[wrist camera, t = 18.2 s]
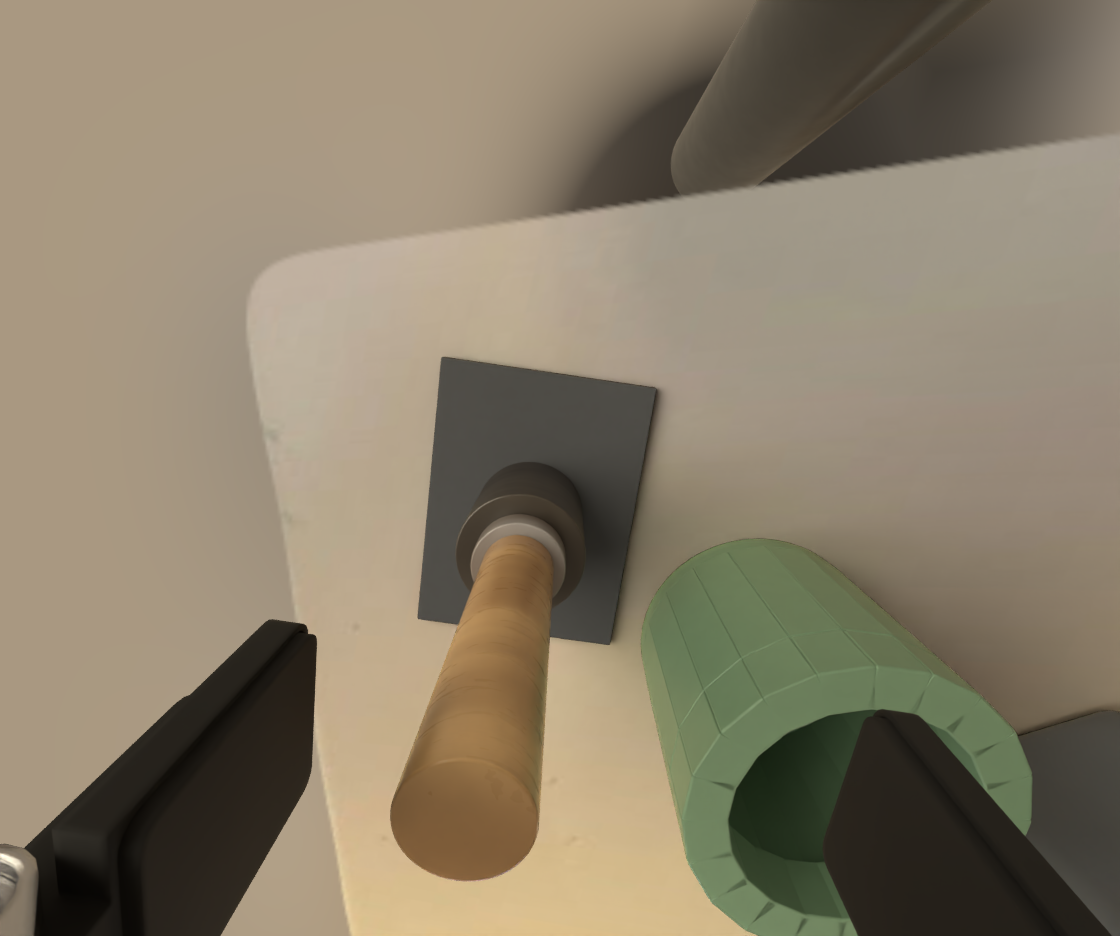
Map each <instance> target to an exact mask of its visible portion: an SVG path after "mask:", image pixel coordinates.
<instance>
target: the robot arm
mask: <svg viewBox="0 0 1120 936" xmlns="http://www.w3.org/2000/svg"><path fill="white" fill-rule="evenodd" d="M316 653H317V639H316V636H315V635H313V634H308V629H307V626H306V625H304V624H300V623H293V622H286V621H279V620H273V619H272V620H268V621H266V622H265V623H264V624H263V625H262V626H261V627H260V628H259V629H258V630H257V631H256V632H255V633H254V634H253V635H251V636H250V637H249V639H247V640H246V641H245V642H244V643H243V644H242V645H241V646H240V647H239V648H238V649H237V650H236V651H235V652H234V653H233V654H232V655H231V656H230V657H229V658H228V659H227V660H226V661H225V662H224V663H223V664H222V665H220V666H219V667H218V669H216V670H215V672H213V673H212V674H211V675H210V676H209V677H208V678H207V679H206V680H205V681H204V682H203V683H202V684H201V685H200V686H199V687H198V688H197V689H196V690H195V691H194V692H193V693H192V694H191V695H189V696H186V697H184V698H182V699H181V700H180V701H178V702H177V703H176V704H175V705H173V707H171V708H170V709H169V710H168V711H167V712H166V713H165V714H164V715H163V716H162V717H161V718H160V719H159V720H158V721H157V722H156V723H155V724H154V725H153V726H151V727H150V728H149V729H148V730H147V731H146V732H145V733H144V734H143V735H142V736H141V737H140V738H139V739H138V740H137V741H136V742H135V743H134V744H133V745H132V746H131V747H129V749H127V750H126V751H125V752H124V753H123V754H122V755H121V756H120V757H119V758H118V759H117V760H116V761H115V762H114V763H113V764H112V765H111V766H109V768H107V769H106V770H105V771H104V772H103V773H102V774H101V775H100V776H99V777H98V778H97V779H96V780H95V781H94V782H93V783H92V784H91V785H90V786H89V787H87V788H86V790H85V791H83V792H82V793H81V794H80V795H79V796H78V797H77V798H76V799H75V800H74V801H73V802H72V803H71V804H70V805H69V806H68V807H67V808H65V809H64V810H63V811H62V812H61V813H60V815H58V816H57V817H56V818H55V819H54V820H53V821H52V822H51V823H50V824H49V825H48V826H47V827H46V828H44V830H42V831H41V832H40V833H39V834H38V835H37V836H36V837H35V838H34V839H33V840H32V841H31V842H30V843H29V844H28V845H27V846H26V847H25V848H21V847H17V846H13V845H9V844H0V936H220V935H221V934H222V932H223V930H224V928H225V927H226V925H227V923H228V922H229V920H230V918H231V916H232V915H233V913H234V911H235V910H236V908H237V906H238V904H239V902H240V901H241V899H242V898H243V896H244V894H245V892H246V891H247V889H248V887H249V885H250V884H251V882H252V880H253V878H254V877H255V875H256V873H257V872H258V869H259V868H260V866H261V865H262V863H263V861H264V860H265V858H266V856H267V854H268V852H269V851H270V849H271V847H272V846H273V844H274V842H275V841H276V839H277V837H278V835H279V834H280V832H281V830H282V828H283V826H284V825H285V823H286V822H287V820H288V818H289V816H290V815H291V813H292V811H293V809H294V808H295V806H296V804H297V803H298V801H299V799H300V797H301V795H302V794H303V792H304V790H305V788H306V786H307V783H308V780H309V777H310V773H311V768H312V750H313V726H314V702H315V677H316ZM823 857H824V861H825V864H826V867H827V869H828V872H829V874H830V876H831V878H832V880H833V883H834V885H835V887H836V889H837V891H838V893H839V896H840V898H841V900H842V902H843V904H844V907H845V909H846V911H847V913H848V915H849V917H850V920H851V922H852V924H853V926H854V928H855V930H856V933H857V935H858V936H1112V935H1111V934H1110V933H1109V932H1108V930H1107V929H1106V928H1105V927H1104V926H1103V925H1102V924H1101V922H1100V921H1099V920H1098V919H1097V918H1096V917H1095V916H1094V914H1093V913H1092V912H1091V911H1090V910H1089V909H1088V908H1087V906H1086V905H1085V904H1084V903H1083V902H1082V901H1081V899H1080V898H1079V897H1078V896H1077V895H1076V894H1075V893H1074V891H1073V890H1072V889H1071V888H1070V887H1069V886H1068V885H1067V883H1066V882H1065V881H1064V880H1063V879H1062V878H1061V877H1060V875H1059V874H1058V873H1057V872H1056V871H1055V870H1054V869H1053V867H1052V866H1051V865H1050V864H1049V863H1048V862H1047V861H1046V859H1045V858H1044V857H1043V856H1042V855H1041V854H1040V852H1039V851H1038V850H1037V849H1036V848H1035V847H1034V846H1033V844H1032V843H1031V842H1030V841H1029V840H1028V839H1027V838H1026V836H1025V835H1024V834H1023V833H1022V832H1021V831H1020V830H1019V828H1018V827H1017V826H1016V825H1015V824H1014V823H1013V822H1012V820H1011V819H1010V818H1009V817H1008V816H1007V815H1006V814H1005V812H1004V811H1003V810H1002V809H1001V808H1000V807H999V806H998V804H997V803H996V802H995V801H994V800H993V799H992V797H991V796H990V795H989V794H988V793H987V792H986V791H985V789H984V788H983V787H982V786H981V785H980V784H979V783H978V781H977V780H976V779H975V778H974V777H973V776H972V775H971V773H970V772H969V771H968V770H967V769H966V768H965V767H964V765H963V764H962V763H961V762H960V761H959V760H958V759H957V757H956V756H955V755H954V754H953V753H952V752H951V750H950V749H949V748H948V747H947V746H946V745H945V744H944V742H943V741H942V740H941V739H940V738H939V737H938V736H937V734H936V733H935V732H934V731H933V730H932V729H931V728H930V726H929V725H928V724H927V723H926V722H925V721H924V720H923V719H922V718H921V717H920V716H919V715H916V714H913V713H906V712H900V711H893V710H886V709H880V710H877V711H876V712H875V713H874V715H873V717H872V716H870V717H867V718H866V719H865V720H864V722H863V724H862V727H861V730H860V733H859V736H858V739H857V742H856V745H855V748H854V751H853V754H852V757H851V760H850V763H849V766H848V769H847V772H846V774H845V777H844V780H843V783H842V786H841V789H840V792H839V795H838V798H837V801H836V804H835V807H834V810H833V813H832V816H831V819H830V822H829V825H828V828H827V831H826V833H825V836H824V840H823Z"/></svg>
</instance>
